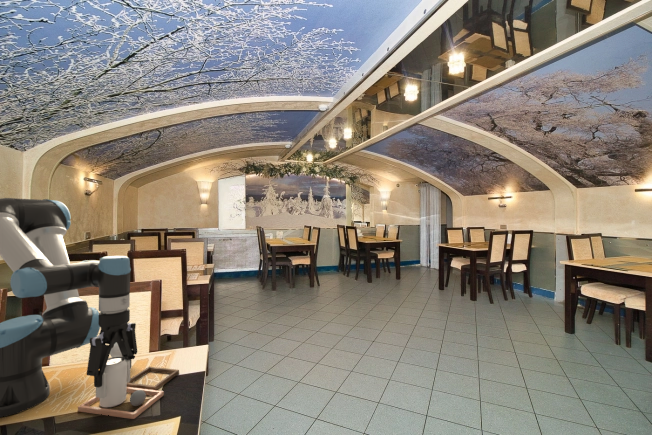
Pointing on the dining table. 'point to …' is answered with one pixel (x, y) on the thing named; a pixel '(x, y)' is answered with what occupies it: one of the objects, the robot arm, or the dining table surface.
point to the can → (115, 382)
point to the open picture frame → (117, 413)
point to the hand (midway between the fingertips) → (113, 388)
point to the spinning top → (115, 351)
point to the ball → (137, 397)
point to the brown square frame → (153, 369)
